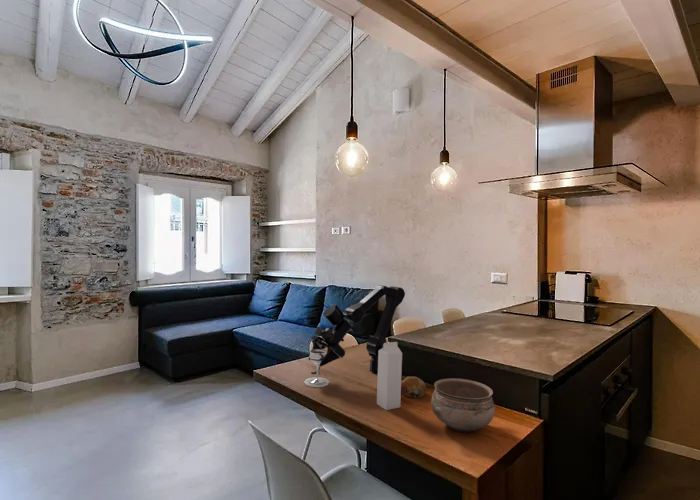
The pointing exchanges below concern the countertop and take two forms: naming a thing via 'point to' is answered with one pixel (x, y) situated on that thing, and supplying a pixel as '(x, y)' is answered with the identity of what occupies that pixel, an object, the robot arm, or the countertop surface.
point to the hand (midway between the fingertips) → (314, 362)
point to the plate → (311, 384)
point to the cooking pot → (463, 404)
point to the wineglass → (317, 360)
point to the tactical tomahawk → (316, 371)
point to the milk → (389, 376)
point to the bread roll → (413, 387)
